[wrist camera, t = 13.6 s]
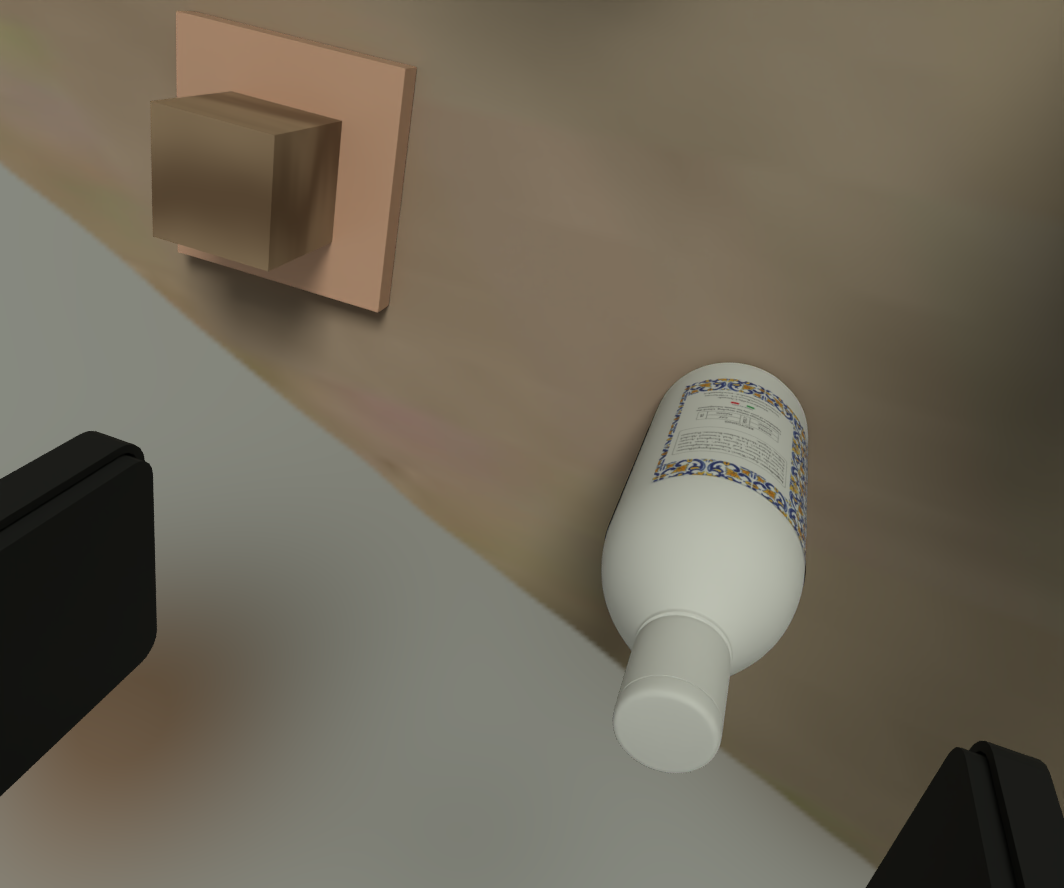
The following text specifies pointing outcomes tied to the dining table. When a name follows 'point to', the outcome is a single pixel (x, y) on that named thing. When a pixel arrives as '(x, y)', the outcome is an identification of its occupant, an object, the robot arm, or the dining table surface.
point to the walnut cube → (243, 177)
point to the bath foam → (705, 556)
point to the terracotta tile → (365, 150)
